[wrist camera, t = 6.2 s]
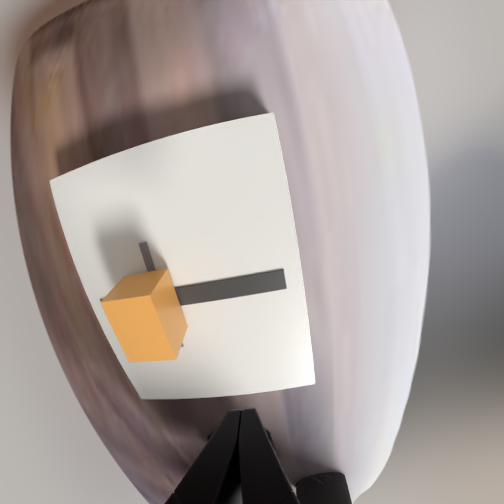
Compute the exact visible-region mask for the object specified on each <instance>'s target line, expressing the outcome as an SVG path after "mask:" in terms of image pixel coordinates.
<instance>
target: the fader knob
mask: <svg viewBox="0 0 504 504" xmlns="http://www.w3.org/2000/svg"><path fill="white" fill-rule="evenodd" d="M101 305H102V307H103V309H104V312H105V314H106V316H107V318H108V320H109V322H110V325H111V327H112V329H113V331H114V333H115V335H116V337H117V339H118V341H119V343H120V345H121V347H122V349H123V351H124V353H125V355H126V357H127V359H128V360H129V362H146V361H164V360H177V357H178V354H179V351H180V348H181V345H182V342H183V339H184V336H185V333H186V330H187V328H188V325H187V323H186V320H185V317H184V314H183V311H182V309H181V306H180V303H179V300H178V297H177V294H176V291H175V288H174V285H173V282H172V279H171V276H170V273H169V270H168V268H166V269H160V270H155V271H149V272H144V273H138V274H133V275H127V276H123V277H122V279H121V280H120V281H119V282H118V283H117V284H116V285H115V286H114V287H113V288H112V290H111V291H110V292H109V293H108V294H107V295H106V296H105V298H104V299H103V300H102V301H101Z"/></svg>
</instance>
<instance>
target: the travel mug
mask: <svg viewBox="0 0 504 504" xmlns="http://www.w3.org/2000/svg"><path fill="white" fill-rule="evenodd" d="M296 496H297V499H298V501H299V503H300V504H352V502H351V498H350V494H349V490H348V486H347V482H346V478H345V476H344V475H343V474H340V473H323V474H318V475H313V476H310V477H307V478H305V479H303V480H301V481H299V482H298V483H297V486H296Z"/></svg>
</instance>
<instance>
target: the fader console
mask: <svg viewBox="0 0 504 504" xmlns="http://www.w3.org/2000/svg"><path fill="white" fill-rule="evenodd" d="M50 185H51V189H52V193H53V197H54V201H55V205H56V208H57V212H58V215H59V219H60V222H61V225H62V229H63V232H64V235H65V238H66V241H67V244H68V247H69V250H70V253H71V255H72V258H73V261H74V264H75V266H76V269H77V272H78V274H79V277H80V279H81V282H82V284H83V287H84V289H85V292H86V294H87V296H88V299H89V301H90V303H91V305H92V308H93V310H94V312H95V314H96V316H97V319H98V321H99V323H100V325H101V327H102V329H103V331H104V333H105V335H106V337H107V339H108V341H109V343H110V345H111V347H112V349H113V351H114V353H115V354H116V356H117V358H118V360H119V362H120V364H121V365H122V367H123V369H124V371H125V372H126V374H127V376H128V378H129V379H130V381H131V383H132V384H133V386H134V388H135V389H136V391H137V393H138V394H139V396H140V397H141V399H189V398H208V397H222V396H233V395H243V394H252V393H260V392H268V391H275V390H282V389H288V388H294V387H300V386H306V385H311V384H315V375H314V365H313V356H312V347H311V338H310V329H309V321H308V313H307V305H306V298H305V290H304V283H303V276H302V269H301V262H300V255H299V248H298V242H297V236H296V229H295V223H294V217H293V211H292V205H291V199H290V194H289V188H288V182H287V177H286V172H285V166H284V161H283V156H282V150H281V145H280V140H279V135H278V130H277V125H276V121H275V116H274V112H273V113H267V114H262V115H256V116H251V117H246V118H241V119H236V120H231V121H227V122H222V123H218V124H213V125H209V126H205V127H201V128H197V129H193V130H189V131H186V132H182V133H178V134H175V135H171V136H168V137H164V138H161V139H158V140H155V141H151V142H148V143H145V144H142V145H139V146H136V147H133V148H130V149H127V150H124V151H121V152H119V153H116V154H113V155H110V156H108V157H105V158H102V159H100V160H97V161H95V162H92V163H89V164H87V165H85V166H82V167H80V168H77V169H75V170H73V171H70V172H68V173H66V174H63V175H61V176H59V177H57V178H54V179H52V180H50ZM166 268H168V270H169V273H170V276H171V279H172V282H173V285H174V288H175V291H176V294H177V297H178V300H179V303H180V306H181V309H182V311H183V314H184V317H185V320H186V323H187V325H188V328H187V330H186V333H185V336H184V339H183V342H182V345H181V348H180V351H179V354H178V357H177V360H164V361H146V362H129V360H128V359H127V357H126V355H125V353H124V351H123V349H122V347H121V345H120V343H119V341H118V339H117V337H116V335H115V333H114V331H113V329H112V327H111V325H110V322H109V320H108V318H107V316H106V314H105V312H104V309H103V307H102V305H101V301H102V300H103V299H104V298H105V296H106V295H107V294H108V293H109V292H110V291H111V290H112V288H113V287H114V286H115V285H116V284H117V283H118V282H119V281H120V280H121V279H122V277H123V276H127V275H133V274H138V273H144V272H149V271H155V270H160V269H166Z"/></svg>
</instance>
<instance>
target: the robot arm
mask: <svg viewBox="0 0 504 504" xmlns="http://www.w3.org/2000/svg"><path fill="white" fill-rule="evenodd" d="M165 504H300V503H299V501H298V499H297V497H296V495H295V493H294V491H293V489H292V487H291V485H290V483H289V481H288V479H287V477H286V474H285V472H284V470H283V468H282V466H281V464H280V462H279V460H278V457H277V454H276V451H275V447H274V444H273V441H272V438H271V435H270V433H269V432H267V431H265V429H264V426H263V424H262V422H261V420H260V417H259V415H258V413H257V410H256V408H244V409H243V410H242V409H232V410H229V411H228V412H227V413H226V415H225V416H224V418H223V419H222V421H221V422H220V424H219V426H218V427H217V429H216V430H215V432H214V433H213V435H210V436H208V442H207V444H206V445H205V447H204V448H203V450H202V451H201V453H200V454H199V456H198V457H197V459H196V460H195V462H194V463H193V465H192V466H191V468H190V469H189V471H188V472H187V473H186V475H185V476H184V478H183V479H182V481H181V482H180V483H179V485H178V486H177V488H176V489H175V490H174V493H172V494H171V496H170V497H169V498H168V500H167V501H166V502H165Z"/></svg>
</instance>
